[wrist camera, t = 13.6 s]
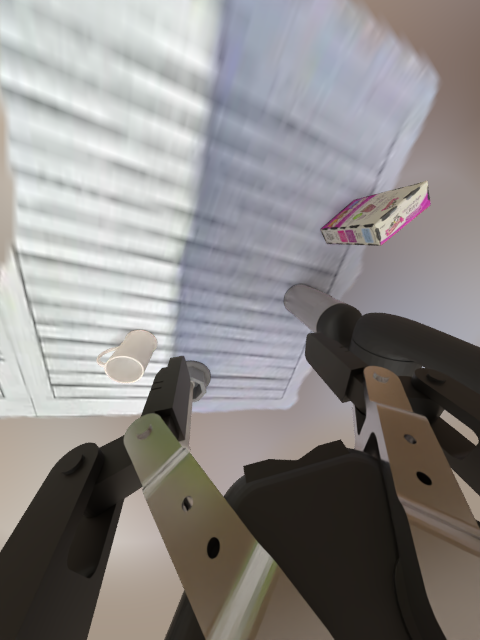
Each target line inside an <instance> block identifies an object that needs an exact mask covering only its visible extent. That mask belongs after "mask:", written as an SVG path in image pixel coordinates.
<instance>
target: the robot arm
mask: <svg viewBox="0 0 480 640" xmlns="http://www.w3.org/2000/svg"><path fill="white" fill-rule="evenodd" d="M284 305H285V307H286V309H287V310H288V311H289V312H291V313H292V314H293V315H294V316H295V317H296V318H298V319H299V320H300V321H301V322H302V323H303V324H305V325H306V326H307V327H308V328H309V329H311V330H312V331H313V332H314V333H310V334H308V335H307V339H306V348H305V357H306V360H307V361H308V363H309V364H310V365H311V366H312V367H313V369H314V370H315V371H316V372H317V373H318V375H319V376H320V377H321V378H322V379H323V380H324V382H325V383H326V384H327V385H328V386H329V387H330V389H331V390H332V391H333V392H334V394H336V396H337V397H338V398H339V399H340V401H341V402H342V403H344V402H348V401H352V403H353V407H352V409H353V421H354V432H355V448H354V449H350V448H346V447H345V445H344V444H343V442H342V441H341V440H337V441H334V442H330V443H326V444H323V445H319V446H317V447H316V448H314V449H313V450H312V451H310V452H309V453H307V454H306V455H305V456H303V457H302V458H300V459H299V460H275V459H268V460H265V461H261V462H257V463H253V464H249V465H246V466H243V467H244V474H245V475H244V476H242V477H241V478H239V479H238V480H237V481H236V482H235V483H234V484H233V485H232V486H231V487H230V489H229V490H228V491H227V492H226V494H225V495H224V497H223V496H222V494H221V493H220V492H219V490H218V489H217V488H216V486H215V485H214V484H213V482H212V481H211V480H210V479H209V477H208V476H207V474H206V473H205V472H204V470H203V469H202V468H201V466H200V465H199V464H198V463H197V461H196V460H195V459H194V457H193V456H192V455H191V453H190V452H189V451H188V450H187V449H186V448H183V447H182V446H181V444H180V443H179V441H183V440H185V435H186V425H187V415H188V405H189V395H190V384H191V383H190V375H189V371H188V368H187V364H186V361H185V357H184V356H179V357H173V358H170V360H169V364H168V367H166V368H162V369H161V370H160V371H159V372H158V373H157V375H156V376H155V379H154V382H153V385H152V387H151V391H150V393H149V396H148V398H147V401H146V404H145V407H144V409H143V412H142V415H141V417H140V418H138V419H137V420H135V421H134V422H133V423H132V424H131V425H130V426H129V428H128V429H127V431H126V433H125V435H123V436H122V437H120V438H118V439H116V440H114V441H112V442H110V443H108V444H106V445H104V446H102V447H100V448H99V447H98V446H97V445H96V444H95V443H85V444H82V445H80V446H78V447H76V448H74V449H72V450H71V451H69V452H68V453H67V454H66V455H64V456H63V457H62V458H61V459H60V460H59V461H58V462H57V463H56V464H55V466H54V467H53V468H52V470H51V471H50V473H49V474H48V476H47V478H46V479H45V481H44V483H43V484H42V486H41V487H40V489H39V491H38V492H37V494H36V495H35V497H34V499H33V500H32V502H31V504H30V505H29V507H28V508H27V510H26V512H25V513H24V515H23V516H22V518H21V520H20V521H19V523H18V525H17V526H16V528H15V529H14V531H13V533H12V535H11V536H10V537H9V539H8V541H7V542H6V544H5V546H4V547H3V549H2V550H1V552H0V640H87V637H88V633H89V629H90V626H91V622H92V618H93V614H94V611H95V607H96V603H97V599H98V596H99V591H100V588H101V584H102V580H103V577H104V573H105V569H106V565H107V562H108V558H109V554H110V550H111V546H112V543H113V539H114V535H115V532H116V528H117V524H118V520H119V517H120V513H121V509H122V505H123V502H124V498H126V497H127V496H129V495H131V494H132V493H134V492H135V491H137V490H138V489H140V488H141V487H143V494H144V496H145V499H146V501H147V503H148V506H149V508H150V511H151V513H152V515H153V518H154V520H155V522H156V525H157V527H158V529H159V532H160V534H161V536H162V539H163V541H164V543H165V546H166V548H167V550H168V553H169V555H170V557H171V560H172V562H173V564H174V567H175V569H176V571H177V574H178V576H179V578H180V581H181V583H182V585H183V588H184V593H183V595H182V597H181V600H180V602H179V605H178V607H177V610H176V612H175V615H174V617H173V620H172V622H171V625H170V627H169V630H168V632H167V634H166V637H165V640H480V522H479V521H477V520H476V519H475V518H474V516H473V514H472V512H471V509H470V507H469V505H468V503H467V501H466V499H465V497H464V495H463V493H462V490H461V488H460V487H459V484H458V482H457V480H456V478H455V476H454V474H453V472H452V470H451V468H452V469H453V470H454V471H455V472H456V473H457V474H458V475H459V476H460V477H461V478H462V479H463V480H464V481H465V482H466V483H467V484H468V485H469V486H470V487H471V488H472V489H473V490H474V491H475V492H476V493H477V494H478V495H479V496H480V347H478V346H475V345H473V344H470V343H468V342H465V341H463V340H461V339H458V338H456V337H453V336H451V335H448V334H446V333H444V332H441V331H439V330H436V329H434V328H431V327H429V326H426V325H424V324H421V323H418V322H416V321H413V320H410V319H407V318H404V317H400V316H396V315H391V314H386V313H368V314H365V315H363V316H362V315H361V313H360V312H359V310H357V309H356V308H354V307H353V306H350V305H348V304H346V303H343V302H341V301H339V300H337V299H335V298H332V296H330V295H328V294H326V293H323V292H321V291H319V290H317V289H314V288H312V287H311V288H310V287H308V286H306V285H303V284H298V285H295V286H293V287H291V288H290V289H289V290H288V291H287V293H286V295H285V297H284ZM422 366H423V367H425V368H422ZM444 409H445V410H446V411H448V412H449V413H450V414H452V415H453V416H454V417H456V418H457V419H458V420H460V421H461V422H462V423H464V424H465V425H466V426H468V427H469V428H470V429H472V430H473V431H474V432H475V434H476V435H477V437H478V439H479V443H478V444H477V445H476V446H475V445H474V444H473V443H472V442H470V441H469V440H468V439H467V438H465V437H464V436H463V435H462V434H460V433H459V432H458V431H457V430H455V429H454V428H453V427H451V426H450V425H449V424H448V423H446V422H445V421H444V420H443V419H442V418H440V415H441V414H442V412H443V411H444Z"/></svg>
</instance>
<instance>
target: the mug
mask: <svg viewBox="0 0 480 640" xmlns="http://www.w3.org/2000/svg"><path fill="white" fill-rule="evenodd" d="M156 347H157V340H156V338H155V336H154V335H153V334H151V333H150V332H148V331H145V330H135V331H132V332H130V333H129V334H128V335H127V336H126V338H125V340H124V341H123V342H122V344H121V345H120V346H119V347H114V348H111V349H108V350H106V351H104V352H102V353H101V354H100V355H99V356H98V357H97V363H98V365H100V366H102V367H104V369H105V373H106V375H107V376H108V377H109V378H110V379H112V380H114V381H116V382H119V383H132V382H135V381H137V380H139V379H140V378H141V377H142V376H143V374H144V371H145V369H146V367H147V365H148V363H149V361H150V358H151V356H152V354H153V352H154V351H155V349H156ZM115 350H116V351H115ZM111 351H115V352H114V353H113V355H112V356H111V357H110V358H109V360H108V361H107V362H106V363H103V362H101V361H100V358H101V357H102V356H103V355H104V354H106V353H108V352H111Z"/></svg>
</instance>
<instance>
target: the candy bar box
mask: <svg viewBox="0 0 480 640" xmlns="http://www.w3.org/2000/svg"><path fill="white" fill-rule="evenodd" d="M429 206H430V197H429V191H428V182H427V181H425V182H422V183H418V184H414V185H411V186H407V187H402V188H398V189H395V190H391V191H387V192H383V193H379V194H375V195H371V196H367V197H363V198H360V199H356V200H354V201H352V202H351V203H350V204H349V205H348V206H347V207H346V208H345V209H343V210H342V211H341V212H340V213H339V214H338V215H337V216H335V217H334V218H333V219H332V220H331V221H330V222H328V223H327V224H326V225H325V226H324V227H323V228H322V229H321V232H322V234H323V236H324V238H325V241H326V243H327V244H352V245H379V246H381V245H382V244H384V243H385V242H386V241H387V240H388V239H390V238H391V237H392V236H393V235H395V234H396V233H397V232H398V231H399V230H401V229H402V228H403V227H404V226H406V225H407V224H408V223H409V222H410V221H412V220H413V219H414V218H415V217H417V216H418V215H419V214H420V213H422V212H423V211H424V210H425V209H427V208H428V207H429Z"/></svg>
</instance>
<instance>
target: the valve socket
mask: <svg viewBox="0 0 480 640" xmlns="http://www.w3.org/2000/svg"><path fill="white" fill-rule="evenodd" d="M186 364H187V368H188V371H189V375H190V381H193V382H195V386H194V388H193V399H192V402H196V401H199V400H200V399H201V398H202V396H203V395H204V394H205V393H206V387H207V386H208V384H209V382H210V378H211V377H210V371H209V369H208V368H207V367H206V366H205V365H204V364H202V363H200V362H197V361H186Z"/></svg>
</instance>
